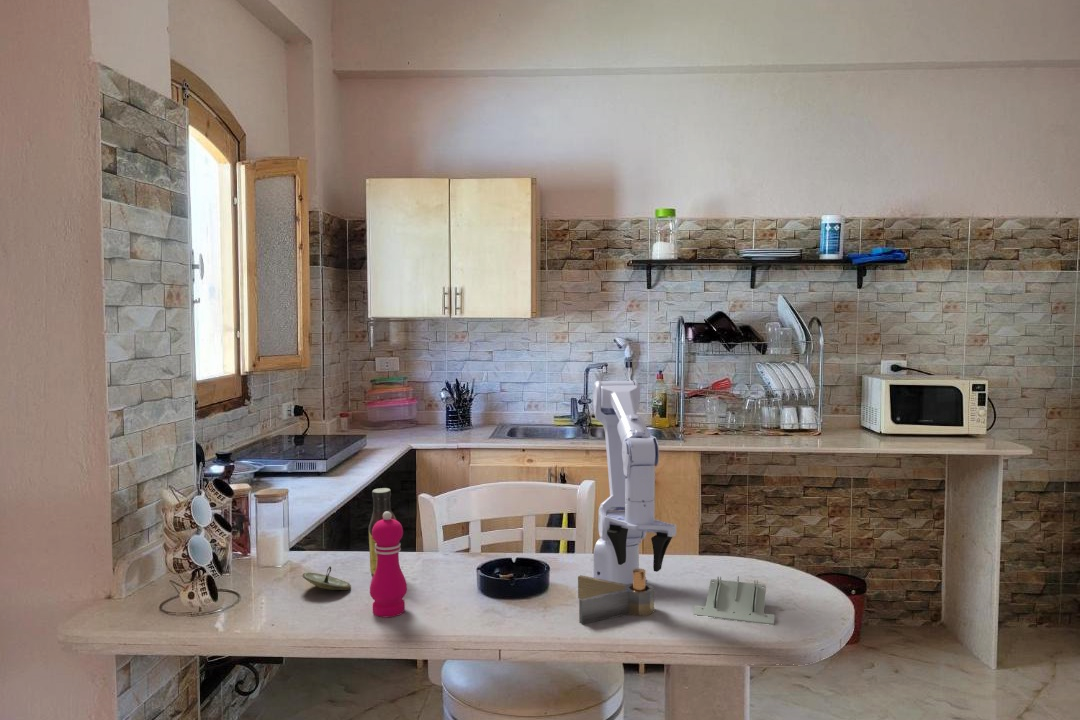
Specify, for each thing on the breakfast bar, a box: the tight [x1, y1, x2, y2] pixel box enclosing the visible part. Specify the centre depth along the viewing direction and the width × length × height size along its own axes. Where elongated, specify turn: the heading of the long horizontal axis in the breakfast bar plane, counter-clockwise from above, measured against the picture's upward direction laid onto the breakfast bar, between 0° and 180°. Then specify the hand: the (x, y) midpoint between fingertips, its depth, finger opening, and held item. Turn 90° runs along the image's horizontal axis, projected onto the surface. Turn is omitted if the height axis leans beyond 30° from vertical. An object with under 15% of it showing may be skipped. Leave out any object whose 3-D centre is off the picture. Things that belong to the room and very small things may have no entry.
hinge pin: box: [633, 568, 646, 592], centre depth 158 cm, size 2×2×8 cm
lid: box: [301, 566, 352, 591], centre depth 170 cm, size 11×10×5 cm
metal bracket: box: [693, 575, 775, 626], centre depth 159 cm, size 14×6×15 cm
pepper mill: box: [369, 511, 408, 618], centre depth 158 cm, size 7×7×20 cm
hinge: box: [577, 574, 655, 625], centre depth 157 cm, size 16×15×4 cm
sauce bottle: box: [368, 487, 400, 580], centre depth 177 cm, size 7×6×20 cm
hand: (639, 566), depth 158 cm, fingers open, 7 cm apart
